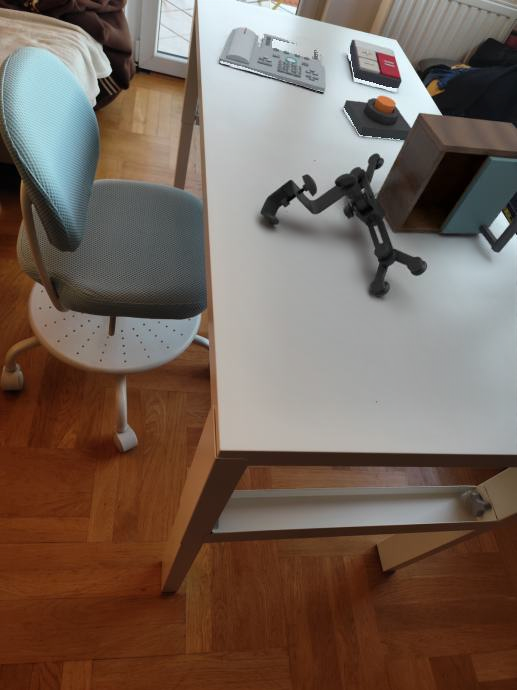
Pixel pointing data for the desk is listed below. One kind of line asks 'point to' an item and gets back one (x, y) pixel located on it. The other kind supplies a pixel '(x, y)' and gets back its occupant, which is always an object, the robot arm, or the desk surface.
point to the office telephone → (273, 59)
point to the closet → (440, 169)
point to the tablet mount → (350, 214)
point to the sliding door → (486, 202)
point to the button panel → (374, 64)
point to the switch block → (377, 120)
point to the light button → (384, 104)
